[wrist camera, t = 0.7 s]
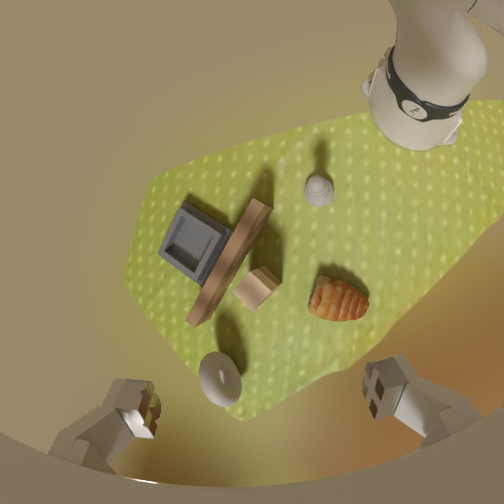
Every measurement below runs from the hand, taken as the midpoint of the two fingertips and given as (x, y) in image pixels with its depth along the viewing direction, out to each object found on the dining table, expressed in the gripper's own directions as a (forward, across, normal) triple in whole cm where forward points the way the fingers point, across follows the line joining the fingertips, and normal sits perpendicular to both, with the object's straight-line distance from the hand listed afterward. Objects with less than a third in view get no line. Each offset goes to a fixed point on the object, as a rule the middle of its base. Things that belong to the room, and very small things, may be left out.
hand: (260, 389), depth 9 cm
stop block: (+34, -2, +12) cm, 37 cm away
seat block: (+40, +10, +6) cm, 41 cm away
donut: (+32, +5, +28) cm, 43 cm away
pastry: (+31, -13, +14) cm, 36 cm away
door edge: (+37, +3, +9) cm, 38 cm away
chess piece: (+36, -12, -2) cm, 38 cm away
